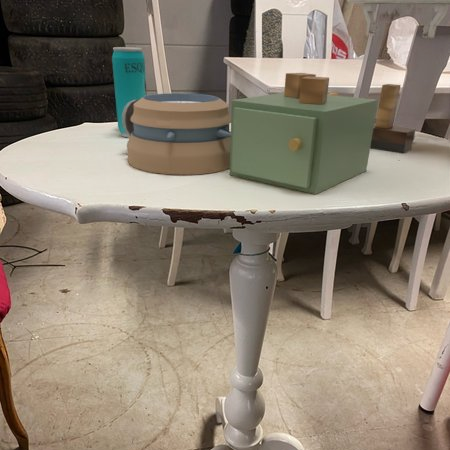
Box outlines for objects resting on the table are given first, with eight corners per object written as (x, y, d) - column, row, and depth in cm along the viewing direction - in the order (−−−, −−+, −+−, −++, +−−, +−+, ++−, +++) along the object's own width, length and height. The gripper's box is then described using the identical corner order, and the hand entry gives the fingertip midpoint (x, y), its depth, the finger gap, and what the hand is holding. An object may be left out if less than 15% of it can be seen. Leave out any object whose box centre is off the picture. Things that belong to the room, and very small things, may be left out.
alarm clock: (137, 107, 60) (106, 88, 78) (142, 179, 64) (112, 145, 83) (258, 103, 65) (202, 86, 84) (254, 170, 70) (202, 140, 88)
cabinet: (366, 170, 71) (378, 99, 66) (309, 197, 59) (319, 113, 54) (287, 156, 78) (292, 91, 73) (222, 177, 66) (223, 101, 61)
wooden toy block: (313, 97, 67) (316, 74, 65) (297, 98, 65) (299, 74, 64) (299, 95, 69) (302, 72, 67) (283, 96, 67) (285, 73, 66)
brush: (411, 149, 85) (424, 86, 80) (402, 153, 82) (416, 88, 77) (359, 141, 90) (369, 81, 85) (349, 145, 87) (359, 83, 82)
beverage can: (153, 137, 90) (149, 48, 82) (125, 139, 87) (118, 48, 80) (141, 131, 94) (136, 47, 86) (114, 134, 91) (106, 47, 84)
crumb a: (326, 102, 62) (329, 77, 61) (321, 104, 60) (324, 79, 59) (304, 100, 63) (307, 76, 62) (298, 103, 61) (301, 77, 60)
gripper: (498, -71, 67) (470, 39, 74) (364, -61, 78) (350, 34, 85) (489, -79, 63) (459, 39, 70) (348, -67, 73) (334, 34, 80)
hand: (398, 36), depth 77 cm, fingers open, 8 cm apart
